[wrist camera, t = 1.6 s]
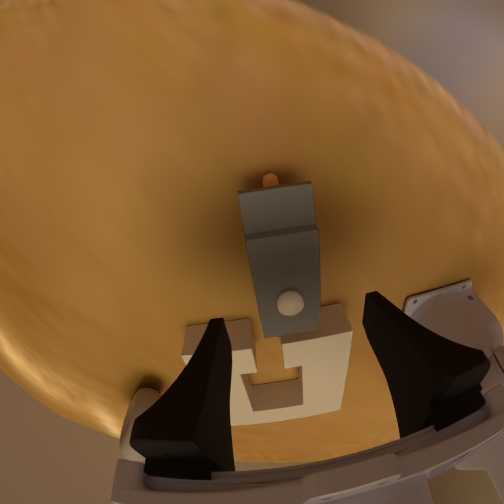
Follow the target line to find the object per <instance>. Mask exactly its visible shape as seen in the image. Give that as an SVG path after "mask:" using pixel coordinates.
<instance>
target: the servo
mask: <svg viewBox="0 0 504 504" xmlns="http://www.w3.org/2000/svg"><path fill="white" fill-rule="evenodd" d="M238 198H239V204H240V209H241V215H242V220H243V225H244V231H245V241H246V246H247V251H248V257H249V262H250V267H251V273H252V278H253V283H254V289H255V294H256V299H257V304H258V310H259V315H260V320H261V322H262V327H263V333H264V338H269V337H275V336H282V335H288V334H294V333H300V332H306V331H311V330H316V329H318V312H321V282H320V249H319V229H318V228H317V226H316V224H315V212H314V199H313V186H312V183H311V182H310V181H302V182H295V183H287V184H280V185H279V182H278V178H277V176H276V175H275V174H272V173H268V174H266V175H265V176H264V177H263V187H260V188H254V189H248V190H241V191H238Z"/></svg>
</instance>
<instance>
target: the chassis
mask: <svg viewBox="0 0 504 504" xmlns="http://www.w3.org/2000/svg"><path fill="white" fill-rule="evenodd" d="M207 325H208V324H200V325H191V326H187V327H186V332H185V338H184V343H183V349H182V354H181V356H182V358H183V360H184V362H185V364H186V365H187V363H188V362H189V360H190V358H191V357H192V355H193V354H194V352H195V350H196V348H197V346H198V344H199V342H200V340H201V338H202V336H203V334H204V332H205V330H206V328H207ZM225 326H226V329H227V332H228V335H229V339H230V342H231V345H232V378H231V392H230V420H231V426H235V425H248V424H258V423H267V422H275V421H282V420H289V419H295V418H301V417H307V416H313V415H318V414H323V413H327V412H332V411H336V410H340V406H341V402H342V396H343V391H344V386H345V380H346V374H347V368H348V362H349V355H350V348H351V341H352V333H353V330H352V328H351V325H350V323H349V321H348V319H347V316H346V314H345V312H344V309H343V307H342V305H341V303H338V304H333V305H327V306H322V307H321V312H318V329H316V330H311V331H306V332H300V333H294V334H288V335H282V336H280V341H281V347H282V353H283V360H284V366H285V368H291V367H297V366H298V377H299V379H294V380H288V381H282V382H275V383H268V384H260V385H251V382H250V378H249V375H248V373H257V361H256V347H255V340H254V335H253V331H252V326H251V322H250V318H248V319H241V320H233V321H226V322H225Z"/></svg>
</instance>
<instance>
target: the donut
mask: <svg viewBox="0 0 504 504" xmlns="http://www.w3.org/2000/svg"><path fill="white" fill-rule="evenodd" d="M160 397H161V395H160V394H159V393H158V392H157V391H156V390H154V389H152V388H142V389H139V390H138V391H137V392H136V393H135V395H134V397H133V399H132V401H131V403H130V405H129V408H128V410H127V413H126V416H125V420H124V423H123V427H122V431H121V436H120V443H119V447H120V451H121V453H122V455H123V456H124V457H125V458H126V459H128V460H130V461H136V462H139V461H143V460H145V459H146V458H144V457H143V456H142V455H140V454H139V453H138V452H136V451H135V450H134V449H133V448H132V447H131V446H130V444H129V441H130V436H131V431H132V427H133V424H134V421H135V418H137V417H138V416H139V415H141V414H142V413H143V412H145V411H146V410H147V409H148V408H150V407H151V406H152V405H153V404H154V403H155V402H156V401H157V400H158V399H159V398H160Z"/></svg>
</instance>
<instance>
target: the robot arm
mask: <svg viewBox="0 0 504 504" xmlns="http://www.w3.org/2000/svg"><path fill="white" fill-rule="evenodd" d="M472 284H473V282H472V281H471V280H467V281H464V282H460V283H457V284H454V285H451V286H447V287H444V288H440V289H437V290H433V291H430V292H426V293H423V294H419V295H415V296H411V297H409V298H408V299H407V300H406V303H405V307H404V311H403V312H402V311H401V310H400V309H399V308H397V307H396V306H395V305H394V304H392V303H391V302H390V301H389V300H387V299H386V298H385V297H384V296H382V295H381V294H380V293H379V292H377V291H374V292H370V293H366V297H365V306H364V314H363V321H362V323H363V326H364V329H365V332H366V335H367V338H368V340H369V342H370V345H371V347H372V349H373V351H374V353H375V355H376V357H377V359H378V361H379V363H380V366H381V368H382V370H383V372H384V375H385V377H386V380H387V383H388V386H389V389H390V393H391V396H392V400H393V404H394V408H395V412H396V417H397V422H398V427H399V433H400V439H398V440H395V441H392V442H389V443H386V444H383V445H380V446H377V447H374V448H371V449H367V450H364V451H360V452H357V453H353V454H349V455H345V456H341V457H337V458H333V459H328V460H323V461H318V462H313V463H308V464H302V465H296V466H289V467H281V468H273V469H263V470H250V471H235V465H234V457H233V447H232V435H231V420H230V392H231V378H232V345H231V342H230V339H229V335H228V332H227V329H226V326H225V322H224V319H223V318H215V319H211V320H210V321H209V323H208V325H207V328H206V330H205V332H204V334H203V336H202V338H201V340H200V342H199V344H198V346H197V348H196V350H195V352H194V354H193V355H192V357H191V358H190V360H189V362H188V363H187V365H186V367H185V368H184V370H183V371H182V372H181V374H180V375H179V376H178V378H177V379H176V380H175V382H174V383H173V384H172V385H171V386H170V388H169V389H168V390H167V391H166V392H165V393H164V394H163V395H162V396H161V397H160V398H159V399H158V400H157V401H156V402H155V403H154V404H153V405H152V406H151V407H150V408H148V409H147V410H146V411H145V412H143V413H142V414H141V415H139V416H138V417H137V418H135V421H134V424H133V427H132V431H131V436H130V441H129V444H130V446H131V447H132V448H133V449H134V450H135V451H136V452H138V453H139V454H140V455H142V456H143V457H144V458H146V460H145V464H144V463H141V462H136V461H130V460H123V459H118V460H117V465H116V470H115V476H114V482H113V488H112V494H111V502H112V503H114V504H433V501H432V497H431V494H430V490H429V487H428V484H427V480H429V479H431V478H433V477H435V476H436V475H439V474H440V473H442V472H444V471H446V470H448V469H450V468H451V467H453V466H455V468H456V469H458V470H486V471H487V472H488V474H489V476H490V478H491V480H492V482H493V484H494V486H495V488H496V490H497V492H498V494H499V497H500V499H501V501H502V503H503V504H504V345H503V332H502V328H501V325H500V323H499V321H498V319H497V318H496V317H495V315H494V314H493V313H492V312H491V311H490V309H489V308H488V307H487V306H486V305H485V303H484V302H483V301H482V300H481V299H480V298H479V297H478V295H477V294H476V293H475V292H474V291H473V290H472V289H471V287H472ZM273 484H274V485H273Z"/></svg>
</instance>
